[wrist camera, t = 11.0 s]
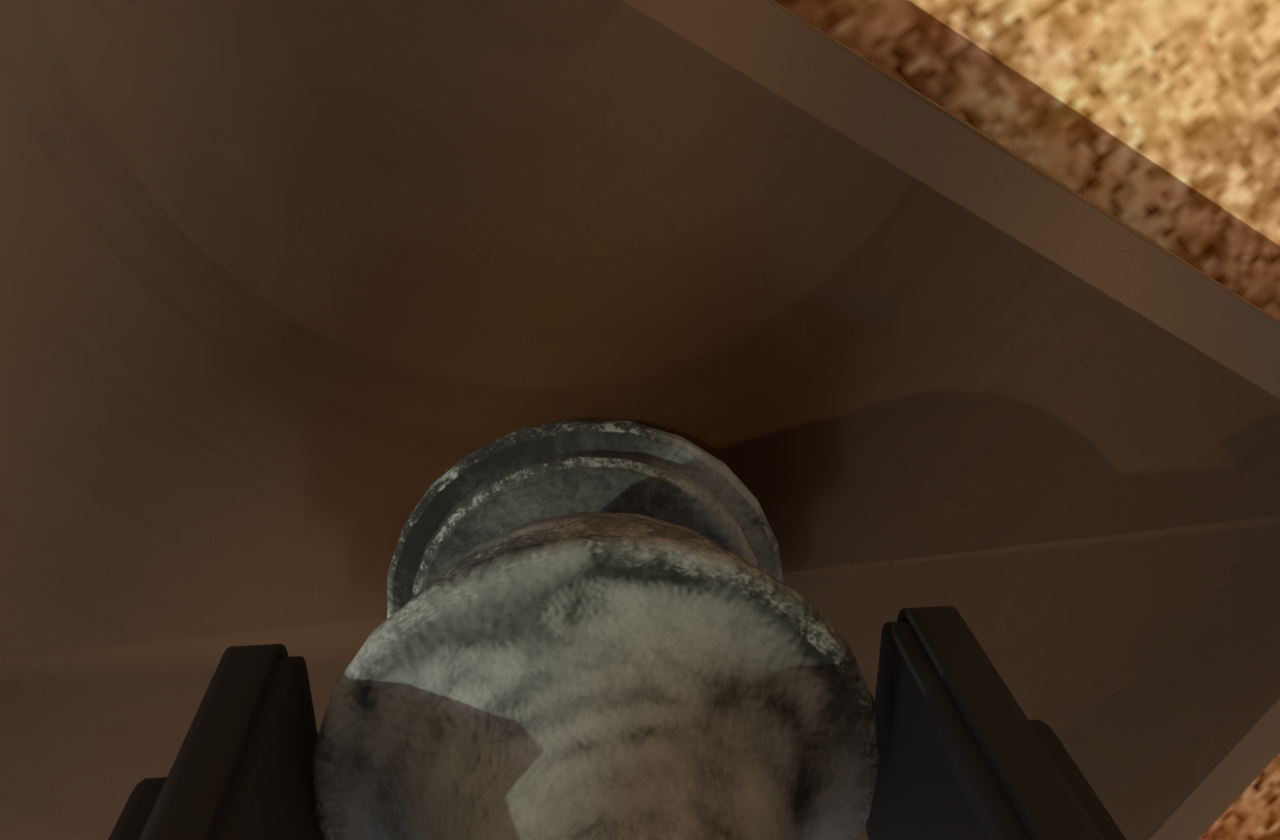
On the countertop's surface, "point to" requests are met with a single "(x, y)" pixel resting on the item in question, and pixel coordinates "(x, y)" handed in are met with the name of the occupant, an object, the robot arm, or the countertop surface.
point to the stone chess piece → (595, 661)
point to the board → (594, 363)
